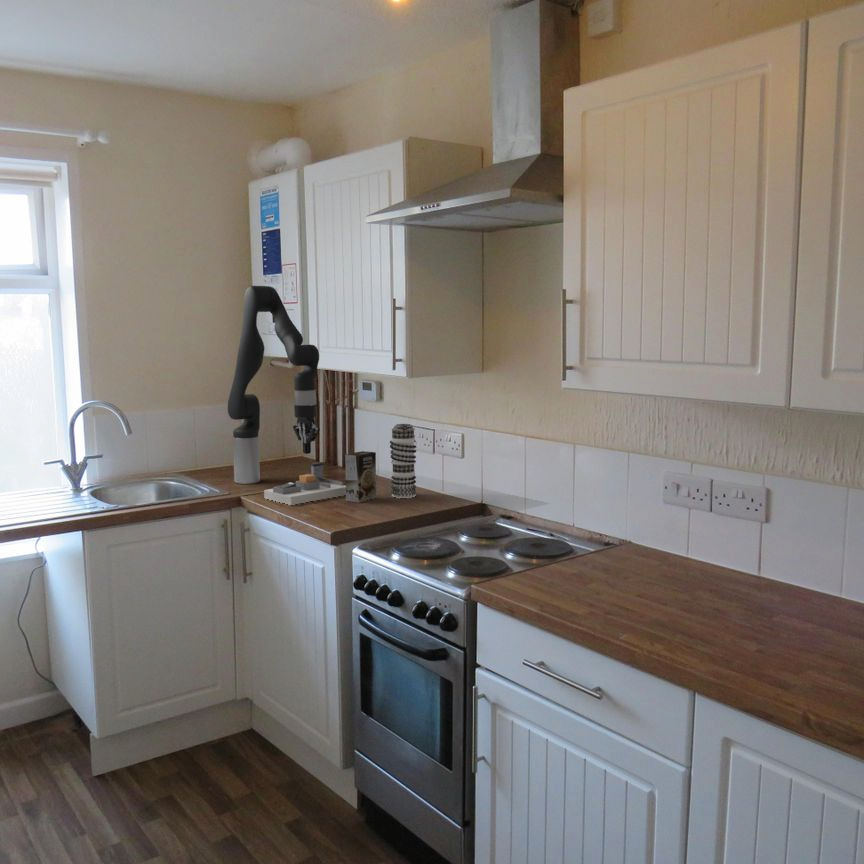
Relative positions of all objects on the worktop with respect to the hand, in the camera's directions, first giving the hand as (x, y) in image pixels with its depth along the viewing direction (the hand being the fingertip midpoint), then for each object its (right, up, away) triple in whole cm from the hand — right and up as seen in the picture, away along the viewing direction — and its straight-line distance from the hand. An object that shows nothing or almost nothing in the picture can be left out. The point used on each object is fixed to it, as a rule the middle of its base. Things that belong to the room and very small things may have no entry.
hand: (306, 453), depth 294 cm
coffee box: (+19, -16, -3) cm, 25 cm away
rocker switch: (-6, -12, -4) cm, 14 cm away
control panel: (0, -15, +2) cm, 15 cm away
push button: (0, -10, +1) cm, 10 cm away
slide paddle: (+2, -11, +12) cm, 16 cm away
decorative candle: (+33, -15, +2) cm, 37 cm away
